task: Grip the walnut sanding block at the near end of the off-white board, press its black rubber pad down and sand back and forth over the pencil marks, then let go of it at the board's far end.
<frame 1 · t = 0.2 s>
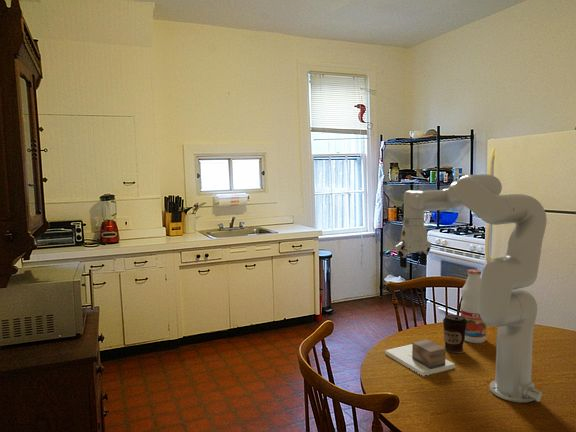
hand: (413, 266, 167), 31 cm above the table, tool pointing down, fingers open, 9 cm apart
sanding block: (428, 362, 149), point 2 cm above the table, touching board
board: (418, 360, 153), on the table
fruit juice: (472, 339, 172), on the table
coffee cup: (454, 351, 161), on the table
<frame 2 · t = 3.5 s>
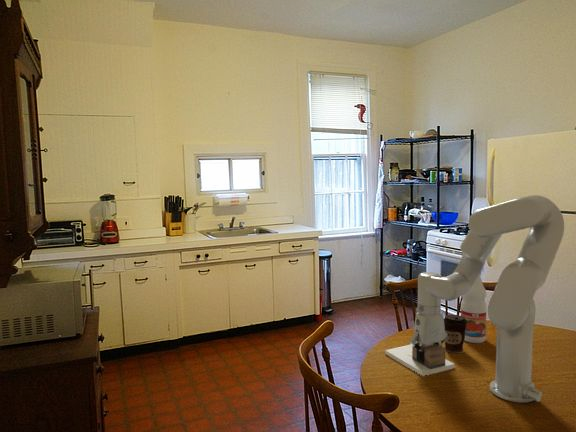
hand: (428, 358, 148), 3 cm above the table, tool pointing down, fingers closed on sanding block, 6 cm apart
sanding block: (428, 362, 149), point 2 cm above the table, touching board, gripper
everything else where it was.
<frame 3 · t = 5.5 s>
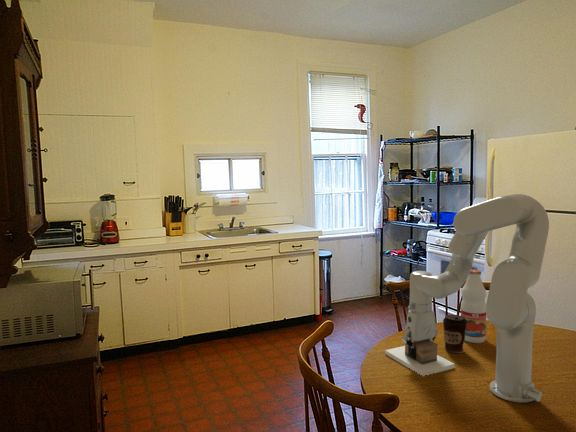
hand: (420, 355, 152), 2 cm above the table, tool pointing down, fingers closed on sanding block, 6 cm apart
sanding block: (420, 357, 152), point 2 cm above the table, touching gripper
everything else where it was.
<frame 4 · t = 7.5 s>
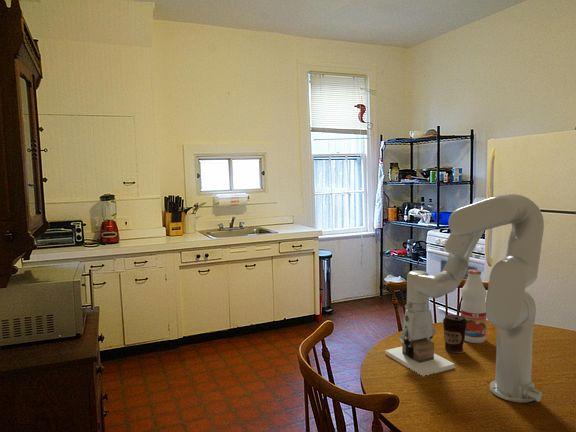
hand: (417, 354, 154), 2 cm above the table, tool pointing down, fingers closed on sanding block, 6 cm apart
sanding block: (417, 356, 153), point 2 cm above the table, touching board, gripper
everything else where it was.
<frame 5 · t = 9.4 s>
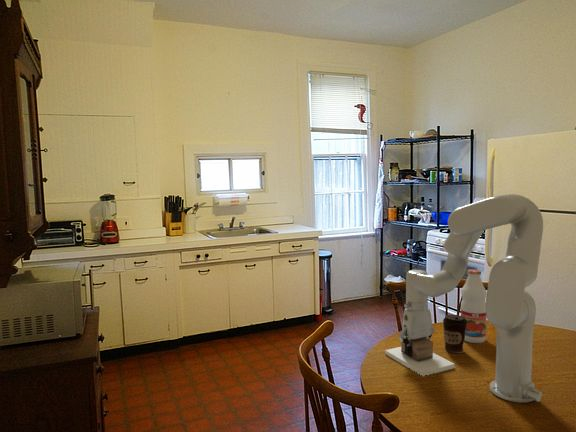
hand: (416, 353, 154), 2 cm above the table, tool pointing down, fingers closed on sanding block, 6 cm apart
sanding block: (416, 354, 154), point 2 cm above the table, touching gripper
everything else where it was.
when the fingers open (3 cm above the table, at t = 11.3 s): sanding block stays where it is, resting on board.
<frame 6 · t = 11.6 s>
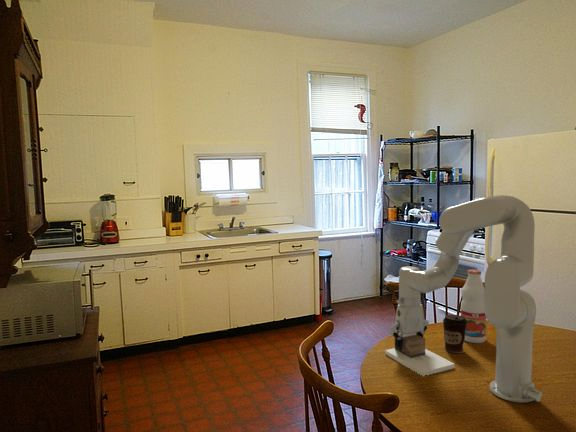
hand: (409, 346, 157), 3 cm above the table, tool pointing down, fingers open, 9 cm apart
sanding block: (409, 351, 157), point 2 cm above the table, touching board
everything else where it was.
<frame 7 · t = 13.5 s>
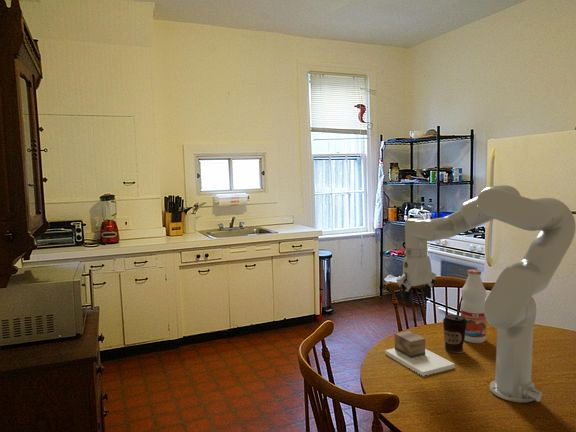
hand: (417, 299, 155), 21 cm above the table, tool pointing down, fingers open, 9 cm apart
nothing on the table moved.
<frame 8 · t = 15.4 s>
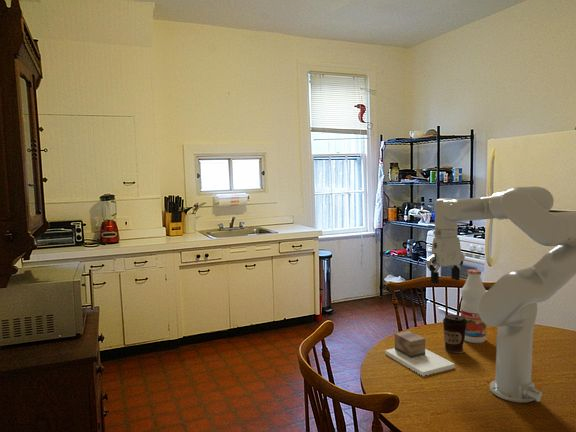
hand: (445, 281, 153), 28 cm above the table, tool pointing down, fingers open, 9 cm apart
nothing on the table moved.
at the end: sanding block inside the target area on the board (1.0 cm from its centre), point 1.5 cm above the board's base; sanding block touching board; the gripper is holding nothing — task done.
